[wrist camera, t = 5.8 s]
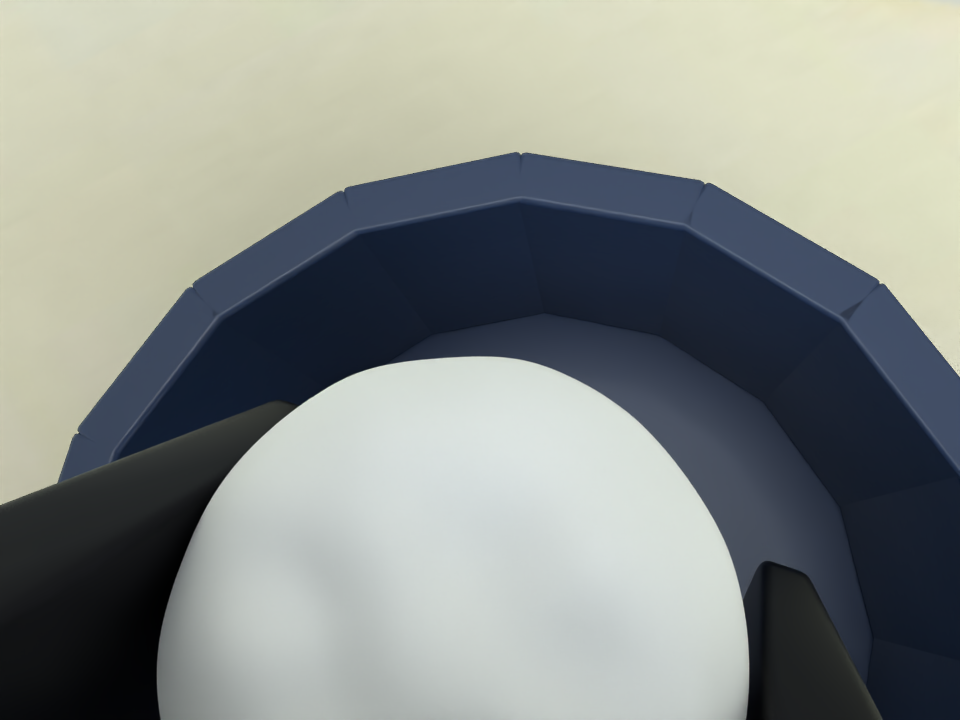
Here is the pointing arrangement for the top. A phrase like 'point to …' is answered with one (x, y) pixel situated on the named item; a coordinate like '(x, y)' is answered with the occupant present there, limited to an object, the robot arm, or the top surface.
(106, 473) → the robot arm
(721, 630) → the milkshake
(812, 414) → the tin
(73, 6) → the top surface
